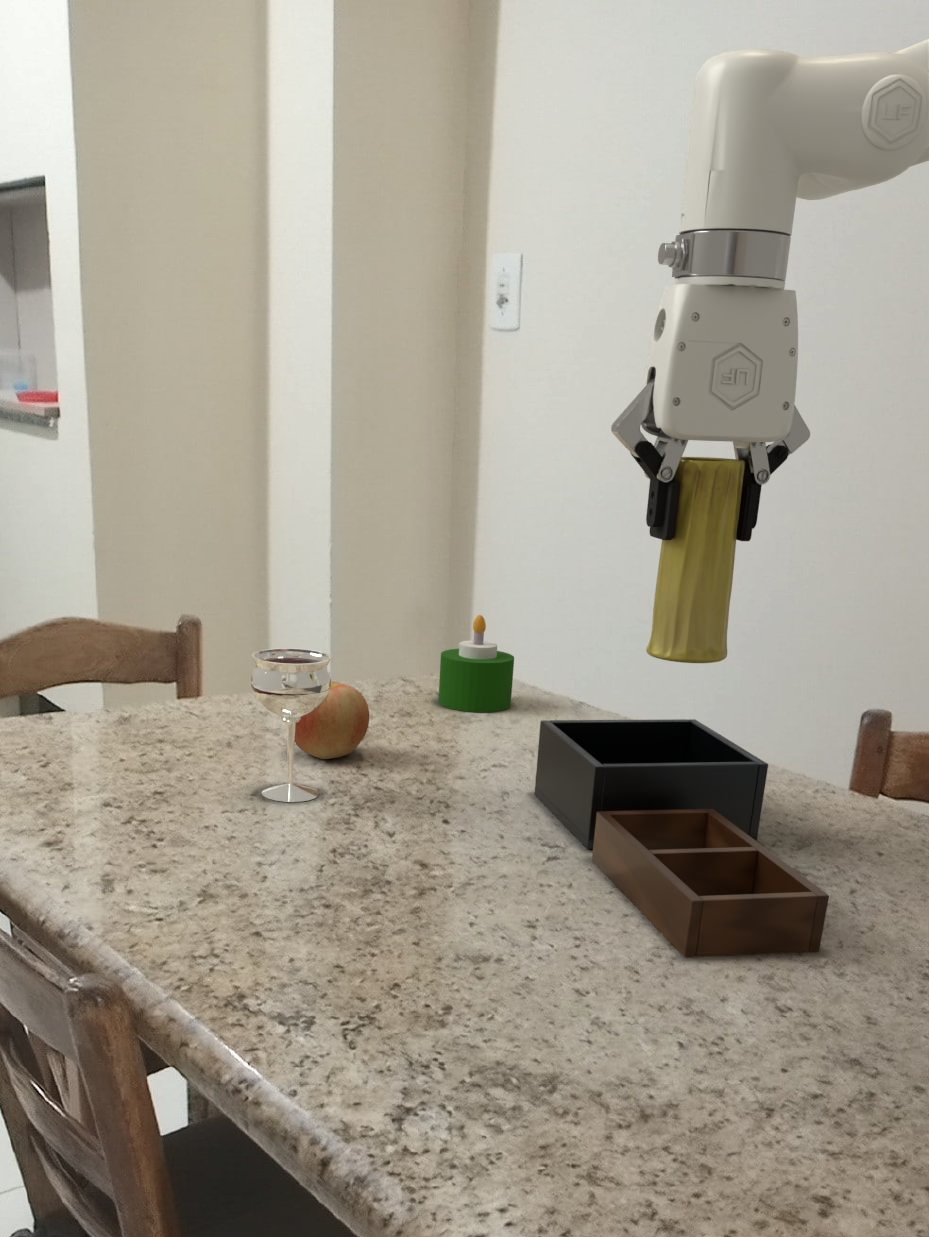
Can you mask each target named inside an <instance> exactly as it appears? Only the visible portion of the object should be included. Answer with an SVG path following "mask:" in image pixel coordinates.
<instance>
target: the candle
mask: <svg viewBox="0 0 929 1237" xmlns="http://www.w3.org/2000/svg"><path fill="white" fill-rule="evenodd" d="M486 628H487V624H486V620H485V618H484V615H481V614H479V615H477V616H475V619H474V621H473V624H472V629H473V640H471V639H470V640H463V641H462V640H461V641H459V643H458V648H450V649H446V650H443V651H441V652H440V662H439V663H440V664H439V679H438V680H439V684H438V701H437V702H438V704H439V705H440V706H442V707H444V708H446V709H447V708H448V709H451V710H455V711H462V712H468V713H469V712H470V713H496V712H502V711H506V710H508V709H510V708H511V706H512V696H513V695H512V692H513V680H514V667H515V656H514V655H513V654H512V653H508V652H505V651H500V650H498V644H497V643H495V642H493V641H488V640H487V641H486V640H484V637H485V632H486Z"/></svg>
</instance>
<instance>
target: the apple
mask: <svg viewBox="0 0 929 1237" xmlns="http://www.w3.org/2000/svg"><path fill="white" fill-rule="evenodd" d="M366 700H367V699H366V698H365V697H364V695H363V694H362V693H361V691H359V690H358V689H357V688H355V687H353V686H351V685H347V684H345V683H341V682H337V681H331V685H330V691H329V694H328V696H327V699H326V700H325V701H324V702H323V703H322V704H321V705H320V706H319V707H318V708H317V709H316V710H315V711H313V712H311V713H309V714H307V715H304V716H302V717H301V719H300V721H299V722H297V723H296V725H295V744H296V746H297V747H298V748H299V749H300V750H301V751H303V753H306V754H308V755H310V756H313V757H315V758H318V759H320V760H330V759H331V760H332V759H337V758H341V757H343V756H347V755H349V754H351V753H353V752H354V751H355V750H356V749H357V748H358V746H360V744H361V743H362V741H363V740H364V738H365V736H366V734H367V733H368V729H369V725H370V709H369V706H368V705H369V704H368V702H367V701H366Z"/></svg>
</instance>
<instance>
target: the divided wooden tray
mask: <svg viewBox="0 0 929 1237" xmlns="http://www.w3.org/2000/svg"><path fill="white" fill-rule="evenodd" d="M591 861H592V862H593V863H594V864H595V865H596V866H597V868H599V869H600V870H601V871H602V873H603V874H605V876H606V877H607V878H608V879H609V880H610V881H611V882H612V883H613V884H614V885H615V886H616V887H617V888H618V889H619V890H620V891H621V893H623V894H624V896H626V898H628V900H629V901H630V902H631V903H632V904H633V905H634V906H635V907H636V908H637V909H638V910H639V911H640V912H641V914H643V915H644V917H646V919H647V920H648V921H650V923H651V924H652V925H653V926H654V927H655V928H656V929H657V931H659V932H660V933H661V934H662V935H663V936H664V937H665V939H666V940H667V941H668V942H669V943H671V945H672V946H673V947H674V948H675V949H676V950H677V951H678V952H679V953H680V955H682V956H683V957H684V958H701V957H702V958H703V957H722V956H723V957H725V956H744V955H745V956H746V955H764V954H767V955H768V954H785V953H787V954H788V953H807V952H809V953H810V952H811V953H813V952H820V949H821V944H822V938H823V932H824V928H825V921H826V915H827V911H828V910H827V909H828V905H829V899H830V895H829V894H828V893H827V892H825V891H824V890H822V889H821V888H820V887H818V886H817V885H816V884H815V883H813V882H812V881H810V880H809V879H808V878H806V876H804V875H803V874H801V873H800V872H799V871H797V870H796V869H794V868H793V867H791V866H790V865H789V864H788V863H786V862H785V861H784V860H782V859H781V858H780V857H778V856H777V855H775V854H774V853H773V852H771V851H770V850H769V849H767V847H765V846H763V845H762V844H761V843H760V842H758V840H757V841H755V840H754V839H753V838H751V837H750V836H749V835H747V834H746V833H745V832H743V831H742V830H741V829H739V828H738V827H737V826H735V825H734V824H733V823H731V822H730V821H729V820H727V819H726V818H725V817H723V816H722V815H721V814H719V813H718V812H717V811H715V810H714V809H683V810H639V811H607V812H606V811H602V812H597V815H596V825H595V835H594V845H593V849H592V857H591Z"/></svg>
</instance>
